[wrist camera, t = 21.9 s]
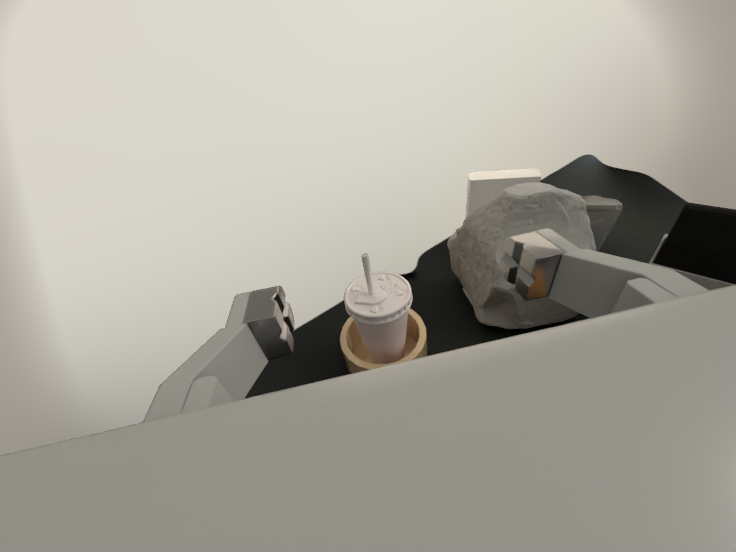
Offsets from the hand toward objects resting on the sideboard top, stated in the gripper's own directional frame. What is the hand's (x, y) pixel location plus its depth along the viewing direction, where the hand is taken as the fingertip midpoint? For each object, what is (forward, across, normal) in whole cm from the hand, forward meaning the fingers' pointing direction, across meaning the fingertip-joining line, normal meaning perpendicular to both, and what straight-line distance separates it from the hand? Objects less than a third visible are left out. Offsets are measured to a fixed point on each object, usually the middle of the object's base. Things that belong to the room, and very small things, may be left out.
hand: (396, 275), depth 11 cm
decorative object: (+9, -32, +21) cm, 39 cm away
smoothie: (+12, 0, +21) cm, 24 cm away
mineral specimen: (+24, -32, +21) cm, 45 cm away
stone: (+17, -17, +21) cm, 32 cm away
